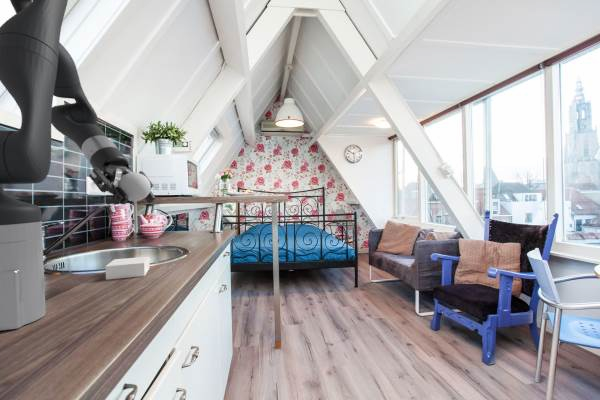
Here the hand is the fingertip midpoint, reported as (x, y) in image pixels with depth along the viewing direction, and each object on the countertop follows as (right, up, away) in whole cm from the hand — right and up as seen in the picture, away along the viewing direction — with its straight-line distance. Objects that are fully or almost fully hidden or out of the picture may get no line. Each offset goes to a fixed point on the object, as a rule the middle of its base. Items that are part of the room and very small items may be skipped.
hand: (139, 201), depth 75 cm
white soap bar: (-8, -20, +10) cm, 24 cm away
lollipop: (-1, -8, +1) cm, 8 cm away
